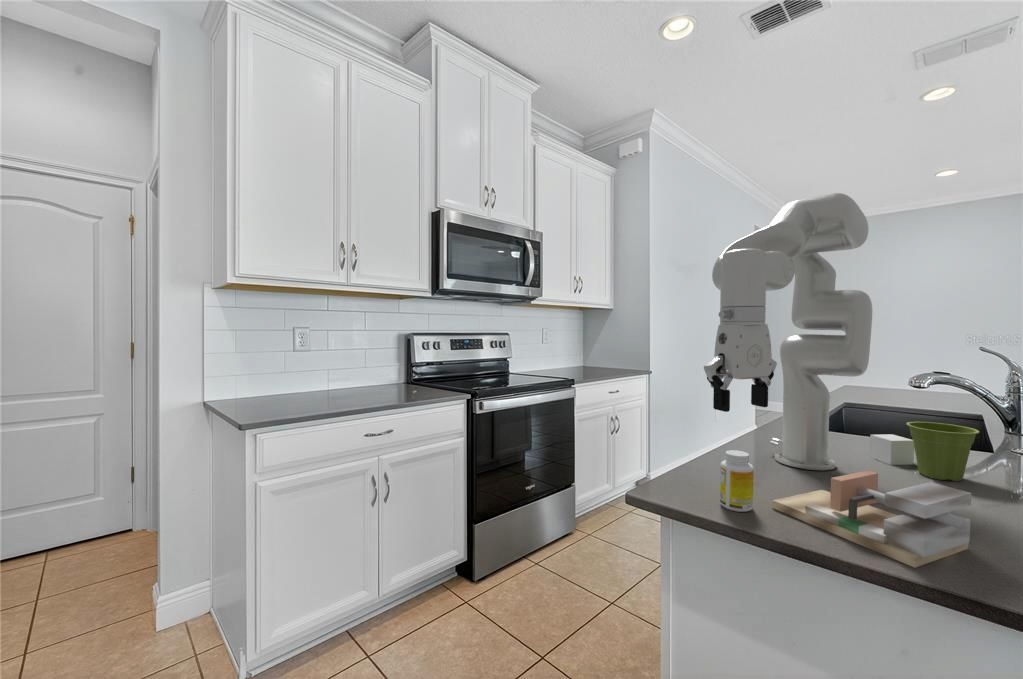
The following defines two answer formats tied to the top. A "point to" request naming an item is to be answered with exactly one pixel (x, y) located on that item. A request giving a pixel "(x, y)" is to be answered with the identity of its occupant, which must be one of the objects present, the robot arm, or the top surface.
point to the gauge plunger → (868, 496)
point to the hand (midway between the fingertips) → (740, 408)
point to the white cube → (892, 449)
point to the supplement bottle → (736, 481)
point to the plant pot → (942, 449)
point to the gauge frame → (891, 522)
